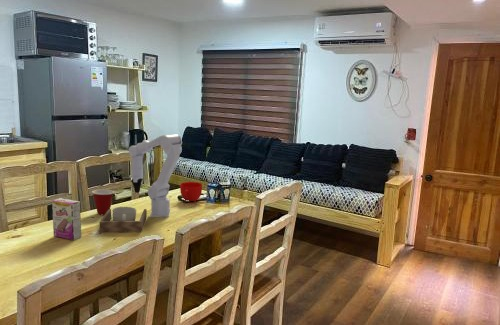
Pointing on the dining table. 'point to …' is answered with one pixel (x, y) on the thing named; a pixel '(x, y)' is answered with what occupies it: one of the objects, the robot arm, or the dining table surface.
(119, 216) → the teacup
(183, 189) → the ceramic cup
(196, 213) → the dining table surface
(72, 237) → the candy bar box
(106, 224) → the cubby
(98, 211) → the plastic cup
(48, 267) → the dining table surface
